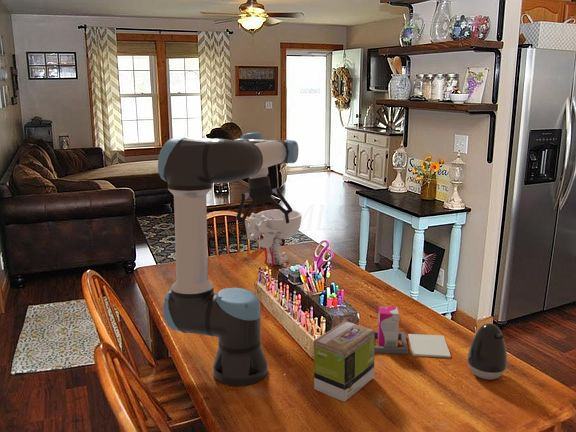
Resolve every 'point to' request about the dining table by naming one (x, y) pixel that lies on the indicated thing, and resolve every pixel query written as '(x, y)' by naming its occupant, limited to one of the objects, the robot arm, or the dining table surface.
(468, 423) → the dining table surface
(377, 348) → the socket frame
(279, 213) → the white sculpted pedestal bowl
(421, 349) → the white flat square tile
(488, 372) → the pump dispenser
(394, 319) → the supplement box
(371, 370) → the tea box
